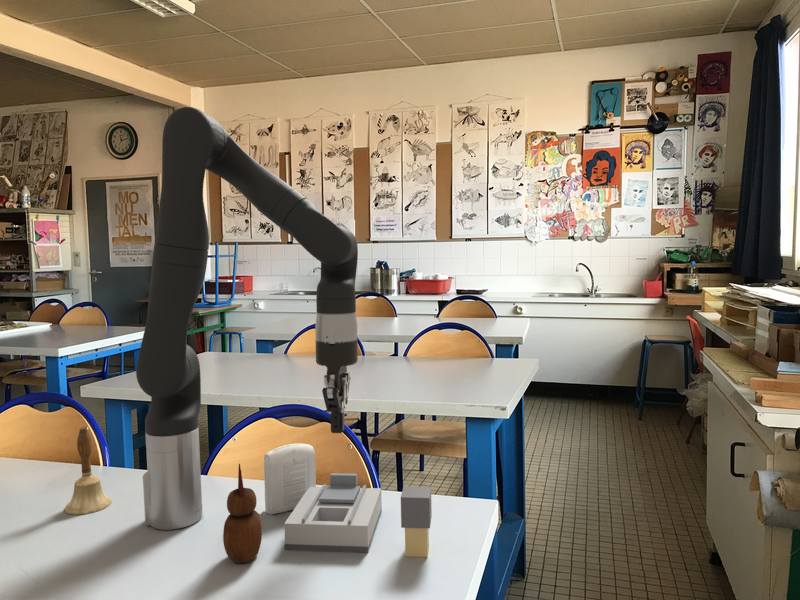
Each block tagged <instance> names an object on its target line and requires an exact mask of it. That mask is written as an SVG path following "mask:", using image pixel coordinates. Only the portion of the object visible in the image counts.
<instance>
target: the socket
mask: <svg viewBox="0 0 800 600" xmlns="http://www.w3.org/2000/svg"><path fill="white" fill-rule="evenodd" d="M326 486H327V484H326V483H325V484H324V483H323V484H322V486H316V487H309V488H308V489H307V491H306V492H305V494H304V495H303V497H302V498H301V500H300V501H299V503H298V504H297V506H296V507H295V509H293V510H292V512H291V513H290V515H289V516H288V517H287V519H286V520H285V522H284V523H283V525H284V548H285V549H284V550H285V551H309V552H310V551H312V552H314V551H315V552H319V551H320V552H343V553H367V554H368V553H369V551H370V548H371V545H372V542H373V539H374V536H375V534H376V530H377V527H378V524H379V521H380V518H381V515H382V512H383V510H382V507H383V505H382V504H383V502H382V488H380V487H379V488H377V487H376V488H375V487H367V484H363V485H362V487H360V491H359V493H358V495H357V497H356V500H355V502H354V503H334V502H319V497H320V496H321V494H322V493H323V491H324V489H325V488H326Z"/></svg>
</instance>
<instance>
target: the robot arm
mask: <svg viewBox="0 0 800 600" xmlns="http://www.w3.org/2000/svg"><path fill="white" fill-rule="evenodd" d="M163 127H164V128H163V131H162V142H161V143H162V149H161V151H162V153H161V154H162V155H161V156H162V157H161V158H162V161H161V162H162V163H161V165H162V166H161V171H162V172H161V173H162V174H161V176H162V177H161V191H160V197H159V205H158V214H157V224H156V231H155V238H154V244H153V252H152V261H151V262H152V263H151V272H150V275H151V276H150V283H149V292H148V293H149V294H148V303H147V315H146V322H145V327H144V331H143V336H142V340H141V344H140V349H139V352H138V356H137V357H138V358H137V362H136V367H135V368H136V369H135V375H136V380H137V383H138V386H139V388H140V389H141V390H142V391H143V393H145V394H146V395H147V396H149V397H150V398H151V399H150V400H151V401H150V405H149V409H148V411H147V413H146V415H145V419H144V426H145V427H144V429H145V446H146V447H145V448H146V462H147V463H146V464H147V465H146V466H147V467H146V468H147V471H146V472H145V473H144V474H142V486H143V503H144V504H143V508H144V524H145V526H151V528H153V529H157V530H160V531H161V530H162V531H163V530H164V531H167V530H169V531H171V530H178V529H182V528H186V527H189V526H192V525H193V524H195V523H197V522H199V521H200V520H201V519H202V517H203V501H202V500H203V497H202V496H203V495H202V492H203V491H202V477H201V476H202V474H201V454H200V453H201V451H200V450H201V449H200V435H199V416H200V413H201V412H200V411H201V406H202V403H201V402H202V399H201V398H202V394H201V393H202V391H201V390H202V389H201V388H202V386H201V385H202V384H201V383H202V382H201V381H202V380H201V377H202V376H201V367H200V361H199V360H200V359H199V357H198V354H197V353H196V351H195V350H194V349H193V347H191V346H190V345H188V344H187V343H188V333H189V331H188V330H189V325H190V320H191V317H192V313H193V311H194V308H195V306H196V302H197V300H198V298H199V296H200V293H201V291H202V287H203V283H204V280H205V276H206V272H207V268H208V267H207V265H208V257H209V250H210V231H209V226H208V220H207V215H206V214H207V213H206V209H205V203H204V182H205V177H206V171H209V172H210V173H212V174H215V175H216V176H218V177H219V178H221V179H222V180H224V181H226V182H227V183H229V184H230V185H231V186H232V187H234V188H235V189H237V191H239V192H240V194H242V195H243V196H244V197H245V198H246V199H247V200H248V201H249V202H250V203H251V204H252V205H253V206H254V207H255V209H257V210H258V211H259V212H260V213H261V214H262V215H263V216H265V218H267V219H268V220H270V222H272V223H274V224H275V225H276V226H277V227H279V229H281V230H283V232H285V233H287V234H289V235H290V236H291V237H292V238H293V239H294V240H296V241H297V243H298V244H299V245H301V247H303V248H304V249H305V251H306V252H308V253H309V254H310V255H311V256H312V257H314V258H315V259H316V260H317V261H319V262H320V279H319V282H318V284H317V287H316V292H315V293H316V295H315V296H316V299H315V300H316V301H315V302H316V304H315V305H316V316H315V317H316V318H315V327H314V329H315V331H314V332H315V334H314V335H315V363H316V364H317V365H319V366H321V367H325V368H326V374H324V375H323V381H324V382H323V384H324V386H325V387H322V389H321V390H322V391H321V392H322V397H323V400H324V404H325V408H326V412H328V413H329V414H330V432H331V433H332V434H342V433H343V432H344V430H345V411H346V408H347V406H346V405H348V402H349V401H348V399H349V390H350V384H351V375H350V372H348V368H347V367H348V366H353V365H355V364H357V363H358V362H359V361H358V360H359V358H358V355H359V354H358V350H359V349H358V321H357V312H356V311H357V304H356V303H357V301H356V300H357V299H356V297H357V296H356V277H357V268H358V255H359V254H358V253H359V252H358V251H359V250H358V241H357V239H356V236H355V235H354V233H353V232H352V231H350V229H348V228H345V227H343V226H340V225H338V224H337V223H336V222H334V221H333V220H331V219H330V218H328V217H327V216H326V215H325V214H323V213H322V212H320V211H319V210H318V208H317V207H316V206H315V205H314V204H313V202H311V201H310V200H309V199H308V198H306V197H305V196H304V195H303V194H301V193H300V192H298V191H297V190H296V188H294V187H292V186H291V185H290V184H288V183H287V182H285V181H284V180H283V179H282V178H280V177H278V176H277V175H275V173H272V172H271V171H270V170H268V168H265V167H264V166H263V165H261V164H260V163H259V162H258V161H256V160H255V159H254V158H253V157H252V156H250V154H248V153H247V152H246V151H245V150H244V149H243V148H242V147H241V146H240V145H239V144H238V143H237V142H236V141H235V140H234V138H233V137H232V136H231V135H230V134H229V132H227V131H226V130H225V128H224V127H223V126H222V124H221V123H220V122H219V121H218V120H217V119H215V118H213V117H212V116H210V114H209V115H208V113H206V112H204V111H202V110H200V109H198V108H196V107H192V106H182V107H179V108H177V109H176V110H174V111H173V112H172V113H170V115H169V116H168V117H167V119H166V122H165V124H164V126H163Z"/></svg>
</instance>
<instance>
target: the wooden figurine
mask: <svg viewBox="0 0 800 600" xmlns="http://www.w3.org/2000/svg"><path fill="white" fill-rule="evenodd" d="M237 473H238V482H237V488H235V489H233V490H231V491H230V492H229V493H228V496H227V500H226V508H227V511H228V514H229V515H228V516H227V517H226V519H225V521H224V525H223V534H222V541H223V542H222V543H223V548H224V551H225V553H226V556H227V557H228V559H229V560H230V561H232V562H233V563H236V564H243V563H244V564H245V563H248V562H250V561H252V560H253V559H255V558H256V557H257V556H258V554H259V553H260V552H259V551H260V548H261V545H262V540H263V539H262V538H263V523H262V522H263V521H262V517H261V515H260V514H259V512H257V511H256V510H255V509H256V507H257V496H256V495H257V494H256V493H255V491H254V490H253V489H252V488H250V487H244V482H243V476H242V474H243V473H242V468H241V463H238V472H237Z"/></svg>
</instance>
